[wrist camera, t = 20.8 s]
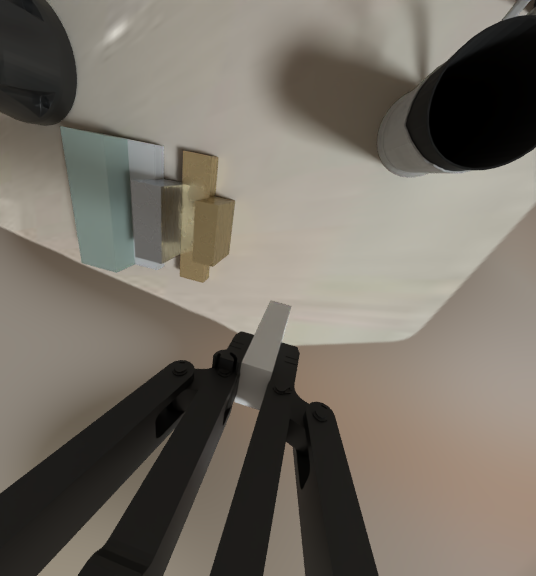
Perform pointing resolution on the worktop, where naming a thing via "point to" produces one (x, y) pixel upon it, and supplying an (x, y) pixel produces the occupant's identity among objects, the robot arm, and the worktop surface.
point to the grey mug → (469, 106)
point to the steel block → (157, 218)
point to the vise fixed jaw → (107, 193)
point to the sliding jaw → (203, 217)
